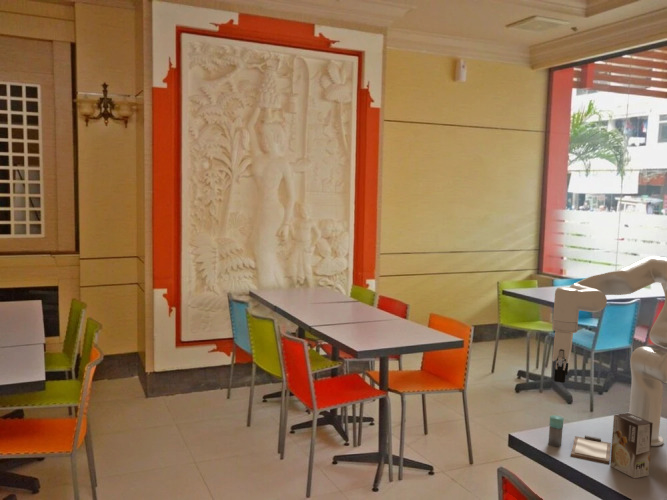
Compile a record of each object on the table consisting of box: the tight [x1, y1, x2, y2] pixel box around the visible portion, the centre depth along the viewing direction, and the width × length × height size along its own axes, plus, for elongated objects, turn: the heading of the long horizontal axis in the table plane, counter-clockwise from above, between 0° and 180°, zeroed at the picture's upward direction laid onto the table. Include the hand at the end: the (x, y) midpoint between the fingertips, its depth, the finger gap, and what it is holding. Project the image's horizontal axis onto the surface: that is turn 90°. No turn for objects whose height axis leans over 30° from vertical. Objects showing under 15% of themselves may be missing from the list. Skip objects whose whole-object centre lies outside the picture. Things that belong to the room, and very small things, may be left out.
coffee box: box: [609, 412, 653, 479], centre depth 182 cm, size 9×6×16 cm
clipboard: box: [570, 435, 612, 465], centre depth 197 cm, size 16×11×2 cm
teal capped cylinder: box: [548, 414, 564, 448], centre depth 200 cm, size 4×4×9 cm
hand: (560, 377), depth 198 cm, fingers open, 9 cm apart
